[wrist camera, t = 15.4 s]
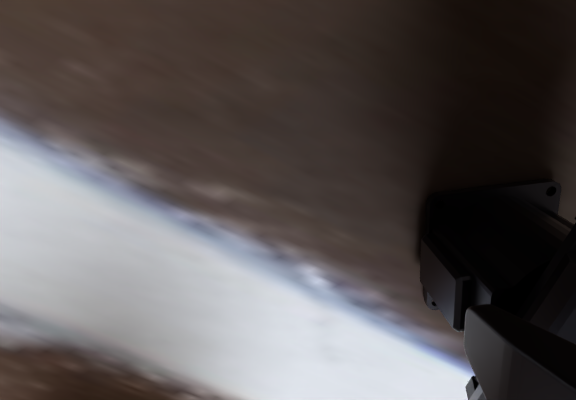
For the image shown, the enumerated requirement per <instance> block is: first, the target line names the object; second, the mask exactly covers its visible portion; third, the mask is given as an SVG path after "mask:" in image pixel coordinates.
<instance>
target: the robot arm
mask: <svg viewBox="0 0 576 400" xmlns="http://www.w3.org/2000/svg"><path fill="white" fill-rule="evenodd" d="M549 187H551V189H550V191H549V192H548V193H546V191H547V189H548V188H549ZM560 195H561V186H560V184H559V183H557V182H555V181H554V180H552V179H543V180H534V181H526V182H518V183H510V184H501V185H493V186H485V187H477V188H468V189H460V190H452V191H444V192H436V193H433V194H432V195H430V196H429V198H428V199H427V207H426V234H425V235H424V236H423V237H422V239H421V261H420V281H421V283H422V285H423V286H424V301H425V303H426V305H427V306H428V307H429V309H432V310H439V309H440V311H441V312H442V314H443V315H444V317H445V318H446V319H447V321H448V322H449V324H450V325H451V327H452V328H453V329H455V330H456V331H457V332H462V331H464V349H465V353H466V356H467V358H468V360H469V363H470V365H471V367H472V369H473V371H474V374H475V376H472V377H471V379H470V380H469V382H468V384H467V385H466V392H467V396H468V400H576V223H575V225H574V224H572V223H571V222H569V221H568V220H566V219H564V218H563V217H561V216H559V215H558V208H559V201H560ZM439 200H442V203H441V204H440V205H439V206H437V207H435V203H436V202H437V201H439ZM575 220H576V217H575ZM432 300H433V301H434V302H432Z"/></svg>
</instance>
